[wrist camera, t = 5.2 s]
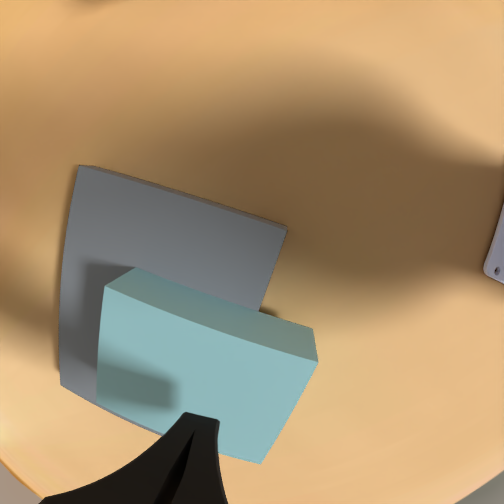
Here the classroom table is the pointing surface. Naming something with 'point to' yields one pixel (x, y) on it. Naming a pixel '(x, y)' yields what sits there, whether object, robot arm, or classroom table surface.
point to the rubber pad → (151, 257)
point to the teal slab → (200, 362)
